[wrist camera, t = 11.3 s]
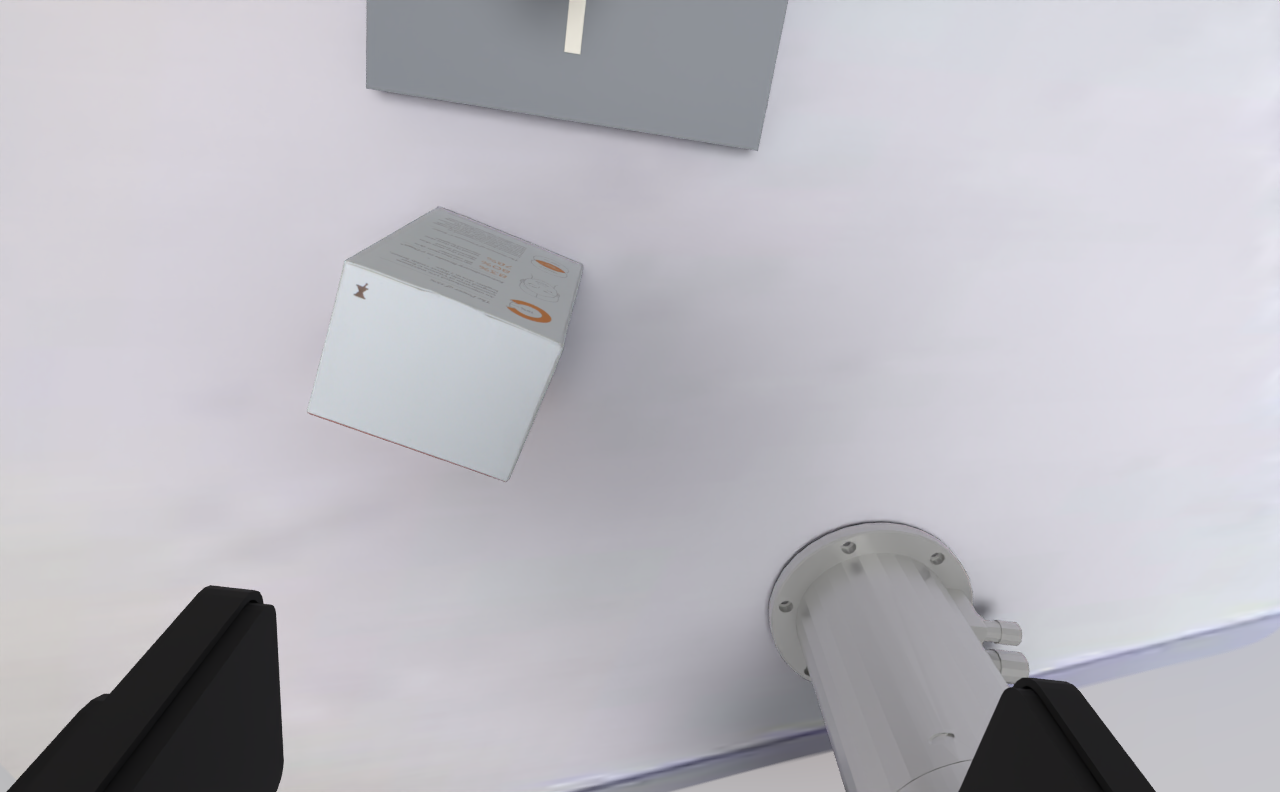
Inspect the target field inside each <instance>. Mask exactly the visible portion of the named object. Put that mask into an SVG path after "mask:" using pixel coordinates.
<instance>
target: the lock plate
mask: <svg viewBox="0 0 1280 792" xmlns="http://www.w3.org/2000/svg"><path fill="white" fill-rule="evenodd" d="M787 4H788V0H367V38H366V88H367V89H373V90H380V91H386V92H392V93H398V94H405V95H411V96H417V97H423V98H430V99H436V100H442V101H449V102H455V103H461V104H467V105H474V106H480V107H486V108H492V109H499V110H505V111H511V112H518V113H524V114H530V115H536V116H543V117H549V118H555V119H561V120H568V121H574V122H580V123H587V124H593V125H599V126H605V127H612V128H618V129H624V130H630V131H637V132H643V133H649V134H656V135H662V136H668V137H674V138H681V139H687V140H693V141H699V142H706V143H712V144H718V145H725V146H731V147H737V148H743V149H750V150H756V151H758V148H759V143H760V138H761V133H762V128H763V123H764V118H765V113H766V108H767V103H768V98H769V93H770V88H771V83H772V78H773V73H774V68H775V63H776V58H777V53H778V48H779V43H780V39H781V34H782V29H783V24H784V19H785V14H786V9H787Z"/></svg>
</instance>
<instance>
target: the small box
mask: <svg viewBox="0 0 1280 792" xmlns="http://www.w3.org/2000/svg"><path fill="white" fill-rule="evenodd" d="M582 271H583V265H582V264H580V263H578V262H575V261H573V260H570V259H568V258H566V257H563V256H561V255H558V254H556V253H553V252H551V251H549V250H546V249H544V248H541V247H539V246H537V245H534V244H532V243H529V242H527V241H524V240H522V239H519V238H517V237H514V236H512V235H509V234H507V233H504V232H502V231H499V230H497V229H494V228H492V227H490V226H487V225H485V224H482V223H480V222H477V221H475V220H472V219H470V218H467V217H465V216H462V215H459V214H457V213H454V212H452V211H449V210H447V209H444V208H441V207H437V208H435V209H434V210H432V211H430V212H428V213H427V214H425V215H423V216H421V217H420V218H418V219H416V220H414V221H413V222H411V223H409V224H407V225H406V226H404V227H402V228H401V229H399V230H397V231H395V232H394V233H392V234H390V235H389V236H387V237H385V238H383V239H382V240H380V241H378V242H376V243H375V244H373V245H371V246H369V247H368V248H366V249H364V250H362V251H361V252H359V253H357V254H356V255H354V256H352V257H350V258H348V259H347V260H345V261H344V265H343V270H342V274H341V278H340V283H339V287H338V291H337V295H336V300H335V304H334V308H333V312H332V316H331V320H330V324H329V328H328V332H327V336H326V340H325V344H324V348H323V352H322V355H321V359H320V364H319V367H318V371H317V375H316V379H315V382H314V386H313V390H312V394H311V398H310V402H309V405H308V409H307V412H308V413H309V414H311V415H314V416H317V417H320V418H323V419H326V420H329V421H332V422H334V423H337V424H340V425H343V426H346V427H349V428H352V429H355V430H358V431H360V432H363V433H366V434H369V435H372V436H375V437H378V438H380V439H383V440H386V441H389V442H392V443H395V444H398V445H401V446H404V447H406V448H409V449H412V450H415V451H418V452H421V453H424V454H427V455H429V456H432V457H435V458H438V459H441V460H444V461H447V462H450V463H453V464H456V465H459V466H462V467H464V468H467V469H470V470H473V471H476V472H479V473H481V474H484V475H487V476H490V477H493V478H496V479H499V480H501V481H504V482H507V481H508V480H509V479H510V477H511V474H512V472H513V470H514V467H515V465H516V463H517V460H518V458H519V455H520V453H521V451H522V448H523V446H524V443H525V441H526V439H527V436H528V434H529V431H530V429H531V427H532V424H533V422H534V419H535V417H536V414H537V412H538V410H539V407H540V405H541V402H542V400H543V398H544V395H545V393H546V390H547V388H548V386H549V383H550V381H551V378H552V376H553V374H554V371H555V369H556V366H557V364H558V361H559V359H560V356H561V354H562V351H563V348H564V343H565V338H566V334H567V330H568V326H569V322H570V318H571V314H572V310H573V306H574V303H575V299H576V296H577V292H578V288H579V284H580V280H581V276H582Z"/></svg>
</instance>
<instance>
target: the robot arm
mask: <svg viewBox="0 0 1280 792" xmlns="http://www.w3.org/2000/svg"><path fill="white" fill-rule="evenodd" d="M769 622H770V629H771V633H772V636H773V639H774V643H775V646H776V648H777V650H778V651H779V653H780V655H781V657H782V659H783V660H784V661H785V662H786V663H787V664H788V665H789V667H790V668H791V669H792V670H793V671H795V672H796V673H797V674H798V675H800V676H801V677H802V678H804V679H806V680H808V681H810V682H812V684H813V687H814V690H815V693H816V697H817V700H818V703H819V706H820V709H821V713H822V716H823V719H824V722H825V726H826V729H827V732H828V735H829V739H830V742H831V745H832V748H833V751H834V755H835V758H836V761H837V764H838V767H839V771H840V774H841V777H842V780H843V784H844V787H845V790H846V792H1156V791H1155V790H1154V789H1153V787H1152V786H1151V785H1150V783H1149V782H1148V781H1147V779H1146V778H1145V777H1144V776H1143V774H1142V773H1141V772H1140V770H1139V769H1138V768H1137V766H1136V765H1135V764H1134V762H1133V761H1132V760H1131V758H1130V757H1129V756H1128V754H1127V753H1126V752H1125V751H1124V749H1123V748H1122V746H1121V745H1120V744H1119V743H1118V741H1117V740H1116V739H1115V737H1114V736H1113V735H1112V733H1111V732H1110V731H1109V729H1108V728H1107V727H1106V725H1105V724H1104V723H1103V721H1102V720H1101V719H1100V718H1099V716H1098V715H1097V713H1096V712H1095V711H1094V710H1093V708H1092V707H1091V706H1090V704H1089V703H1088V702H1087V700H1086V699H1085V698H1084V696H1083V695H1082V694H1081V692H1080V691H1079V690H1078V689H1077V688H1076V687H1075V686H1074V685H1072V684H1070V683H1068V682H1064V681H1055V680H1046V679H1037V678H1028V677H1029V665H1028V661H1027V659H1026V657H1025V656H1024V655H1023V654H1022V653H1021V652H1013V651H1004V650H995V649H990V650H985V648H984V647H983V645H982V644H983V642H984V641H988V642H994V643H995V644H1004V645H1013V646H1017V645H1019V644H1020V642H1021V639H1022V630H1021V628H1020V626H1019V625H1018V624H1017V623H1016V622H1008V621H1000V620H994V621H990V620H984V619H983V617H982V616H981V615H978V613H977V612H976V610H975V609H974V607H973V592H972V588H971V584H970V580H969V577H968V575H967V573H966V571H965V570H964V568H963V566H962V564H961V563H960V561H959V560H958V559H957V557H956V556H955V555H954V554H953V552H952V551H951V550H950V549H949V548H948V547H947V546H946V545H945V544H943V543H942V542H941V541H940V540H939V539H937V538H936V537H934V536H932V535H930V534H928V533H926V532H924V531H923V530H919V529H916V528H913V527H910V526H907V525H901V524H893V523H865V524H860V525H855V526H850V527H846V528H843V529H840V530H838V531H835V532H832V533H830V534H827V535H825V536H824V537H822V538H820V539H818V540H816V541H815V542H813V543H811V544H810V545H808V546H807V547H806V548H805V549H803V550H802V551H801V552H800V553H798V554H797V555H796V556H795V557H794V558H793V559H792V560H791V562H790V563H789V564H788V565H787V566H786V567H785V569H784V570H783V571H782V573H781V575H780V577H779V578H778V580H777V582H776V583H775V586H774V589H773V592H772V595H771V598H770V604H769ZM1007 683H1008V684H1014V686H1013V687H1009V686H1008V684H1007ZM283 763H284V757H283V738H282V719H281V700H280V681H279V662H278V642H277V623H276V611H275V608H274V606H273V605H269V604H263V598H262V595H261V594H260V592H258V591H255V590H247V589H238V588H229V587H220V586H211V585H210V586H207V587H205V588H204V589H202V590H201V591H200V592H199V593H198V594H197V595H196V596H195V598H194V599H193V600H192V601H191V602H190V603H189V604H188V605H187V607H186V608H185V609H184V610H183V611H182V612H181V613H180V615H179V616H178V617H177V618H176V619H175V620H174V621H173V623H172V624H171V625H170V626H169V627H168V628H167V629H166V631H165V632H164V633H163V634H162V635H161V636H160V637H159V639H158V640H157V641H156V642H155V643H154V644H153V645H152V646H151V648H150V649H149V650H148V651H147V652H146V653H145V654H144V656H143V657H142V658H141V659H140V660H139V661H138V662H137V664H136V665H135V666H134V667H133V668H132V669H131V670H130V672H129V673H128V674H127V675H126V676H125V677H124V678H123V680H122V681H121V682H120V683H119V684H118V685H117V686H116V687H115V689H114V690H113V691H112V692H111V693H110V694H103V695H101V696H99V697H97V698H95V699H93V700H91V701H90V702H89V703H88V704H87V705H86V706H85V707H84V708H82V709H81V710H80V711H79V712H78V713H77V714H76V715H75V717H74V718H73V719H72V720H71V721H70V722H69V723H68V724H67V725H66V727H65V728H64V729H63V730H62V731H61V732H60V733H59V734H58V735H57V737H56V738H55V739H54V740H53V741H52V742H51V743H50V744H49V745H48V746H47V748H46V749H45V750H44V751H43V752H42V753H41V754H40V755H39V756H38V758H37V759H36V760H35V761H34V762H33V763H32V764H31V765H30V766H29V768H28V769H27V770H26V771H25V772H24V773H23V774H22V775H21V776H20V777H19V779H18V780H17V781H16V782H15V783H14V784H13V785H12V786H11V787H10V789H9V790H8V791H7V792H276V791H277V789H278V786H279V783H280V780H281V776H282V771H283Z"/></svg>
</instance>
